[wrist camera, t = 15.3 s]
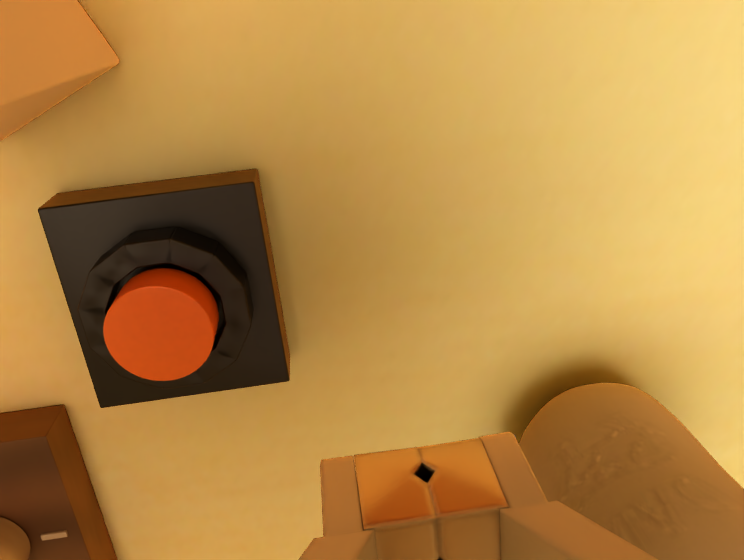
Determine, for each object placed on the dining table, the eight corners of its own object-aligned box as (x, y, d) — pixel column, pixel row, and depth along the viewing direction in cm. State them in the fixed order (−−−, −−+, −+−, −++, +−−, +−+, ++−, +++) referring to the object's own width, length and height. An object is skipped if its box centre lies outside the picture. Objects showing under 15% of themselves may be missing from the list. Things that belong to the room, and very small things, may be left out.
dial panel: (122, 572, 43) (109, 614, 40) (-37, 597, 42) (-62, 641, 39) (64, 404, 37) (44, 438, 34) (-118, 430, 37) (-154, 466, 34)
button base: (290, 356, 38) (289, 400, 34) (113, 381, 37) (90, 429, 33) (257, 167, 33) (252, 191, 29) (56, 193, 33) (21, 220, 29)
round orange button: (227, 351, 33) (223, 373, 31) (129, 364, 32) (118, 388, 30) (208, 261, 31) (201, 279, 29) (103, 274, 30) (90, 294, 28)
